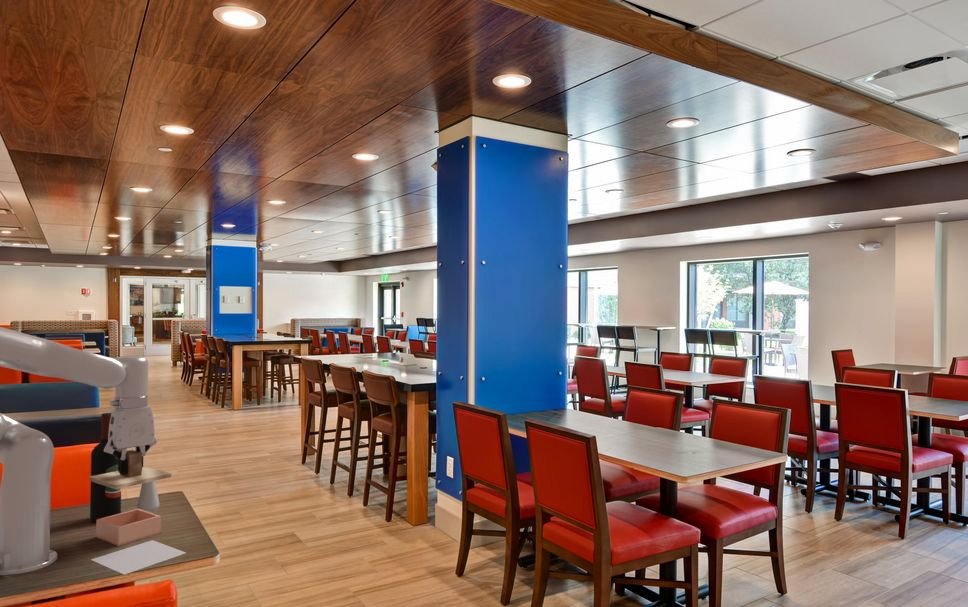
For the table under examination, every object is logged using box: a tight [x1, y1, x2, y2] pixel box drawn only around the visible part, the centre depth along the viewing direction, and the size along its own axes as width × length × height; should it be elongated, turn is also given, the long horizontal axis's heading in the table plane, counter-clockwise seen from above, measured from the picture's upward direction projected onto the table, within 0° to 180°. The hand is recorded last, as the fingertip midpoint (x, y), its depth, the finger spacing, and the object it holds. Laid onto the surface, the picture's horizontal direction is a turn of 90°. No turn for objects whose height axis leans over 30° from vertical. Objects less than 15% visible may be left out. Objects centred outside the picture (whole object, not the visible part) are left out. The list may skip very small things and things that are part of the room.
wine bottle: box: [89, 412, 122, 524], centre depth 178 cm, size 8×8×30 cm
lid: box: [88, 449, 172, 490], centre depth 163 cm, size 14×14×7 cm
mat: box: [90, 539, 187, 576], centre depth 150 cm, size 15×15×1 cm
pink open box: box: [95, 508, 162, 547], centre depth 164 cm, size 11×11×5 cm
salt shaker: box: [136, 481, 161, 514], centre depth 182 cm, size 6×6×13 cm
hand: (130, 472), depth 163 cm, fingers closed on lid, 3 cm apart
